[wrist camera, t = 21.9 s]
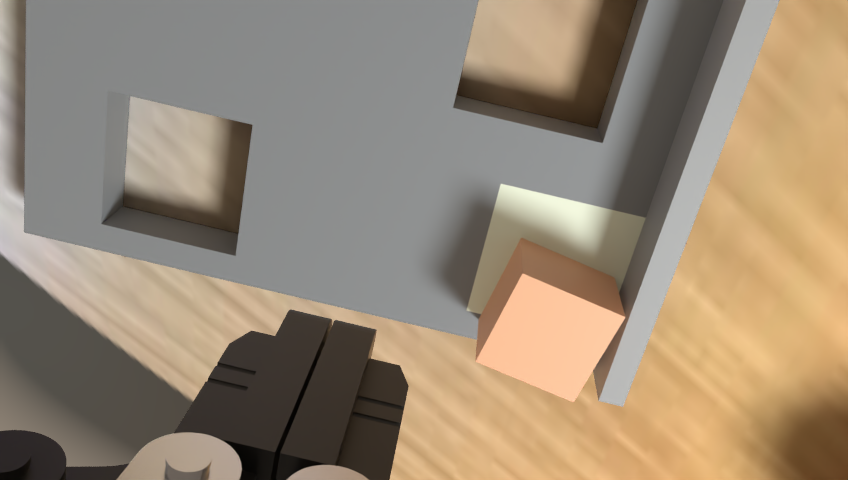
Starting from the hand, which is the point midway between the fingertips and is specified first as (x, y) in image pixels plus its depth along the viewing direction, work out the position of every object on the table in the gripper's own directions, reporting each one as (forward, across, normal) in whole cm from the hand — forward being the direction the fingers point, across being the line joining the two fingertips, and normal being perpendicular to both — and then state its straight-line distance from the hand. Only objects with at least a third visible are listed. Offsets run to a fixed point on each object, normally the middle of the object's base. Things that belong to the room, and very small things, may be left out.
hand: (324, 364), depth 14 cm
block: (+24, -8, +10) cm, 27 cm away
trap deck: (+27, +4, +3) cm, 27 cm away
